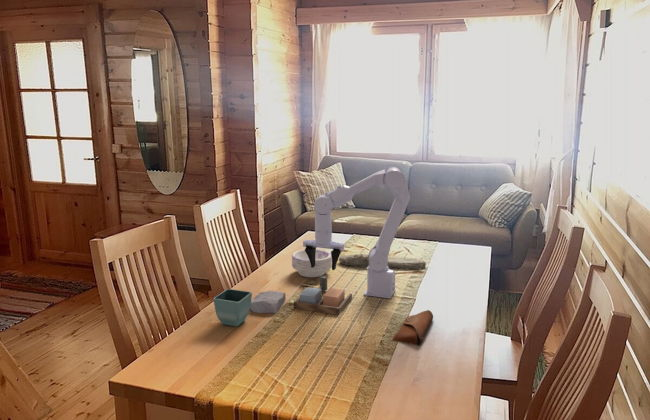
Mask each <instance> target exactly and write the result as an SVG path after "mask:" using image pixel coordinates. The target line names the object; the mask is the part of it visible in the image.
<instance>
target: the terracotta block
mask: <svg viewBox="0 0 650 420" xmlns="http://www.w3.org/2000/svg"><path fill="white" fill-rule="evenodd" d="M345 292H346V290H345V289H341V288H340V289H339V288H333V287H330V288H329V289H327V290H326V291H325V293H323V295H322V298H323V305H326V306H333V307H339V306H340V304H341V303H342V302H343V301H344V300H345V299H346V297H345V295H346V294H345Z"/></svg>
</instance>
